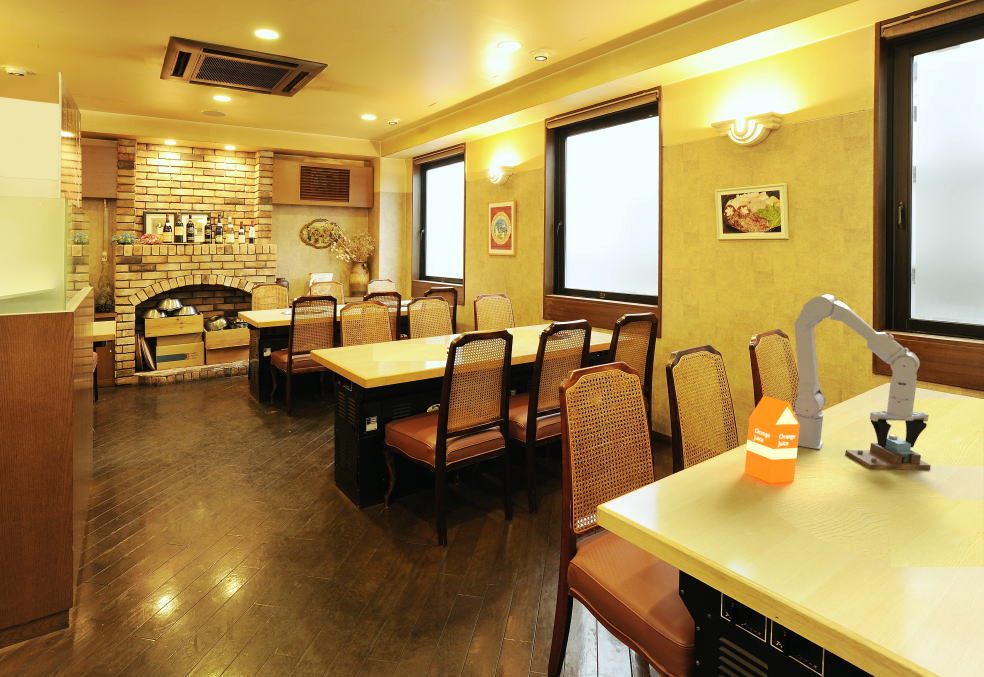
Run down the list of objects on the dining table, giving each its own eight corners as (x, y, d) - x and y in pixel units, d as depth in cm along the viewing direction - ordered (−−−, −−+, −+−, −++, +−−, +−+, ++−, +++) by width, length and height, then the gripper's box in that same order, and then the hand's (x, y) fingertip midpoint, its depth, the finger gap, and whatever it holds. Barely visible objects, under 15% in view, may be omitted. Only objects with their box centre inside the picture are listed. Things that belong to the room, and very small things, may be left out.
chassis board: (869, 468, 158) (871, 455, 158) (845, 454, 169) (846, 441, 168) (930, 469, 158) (931, 456, 158) (901, 454, 169) (903, 442, 169)
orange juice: (767, 470, 157) (775, 395, 156) (794, 481, 149) (802, 402, 147) (743, 472, 155) (750, 395, 153) (769, 483, 147) (777, 403, 145)
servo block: (912, 463, 159) (915, 443, 158) (898, 463, 159) (901, 443, 158) (890, 452, 168) (893, 432, 167) (877, 452, 168) (880, 432, 167)
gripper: (884, 401, 157) (878, 450, 159) (939, 401, 157) (932, 451, 159) (867, 394, 164) (861, 442, 166) (920, 394, 164) (913, 442, 166)
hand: (895, 446), depth 163 cm, fingers open, 7 cm apart
